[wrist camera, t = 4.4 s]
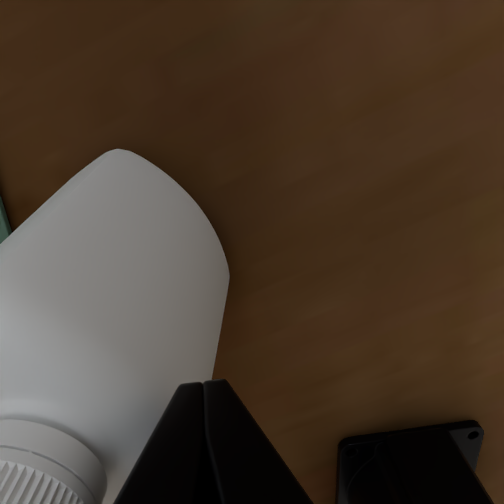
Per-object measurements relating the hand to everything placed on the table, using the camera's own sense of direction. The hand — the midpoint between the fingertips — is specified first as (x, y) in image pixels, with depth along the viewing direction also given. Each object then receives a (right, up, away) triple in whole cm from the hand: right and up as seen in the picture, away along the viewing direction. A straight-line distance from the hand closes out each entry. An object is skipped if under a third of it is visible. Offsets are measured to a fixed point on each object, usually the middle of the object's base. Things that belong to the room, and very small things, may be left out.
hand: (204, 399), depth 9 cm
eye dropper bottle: (-2, +3, +7) cm, 8 cm away
